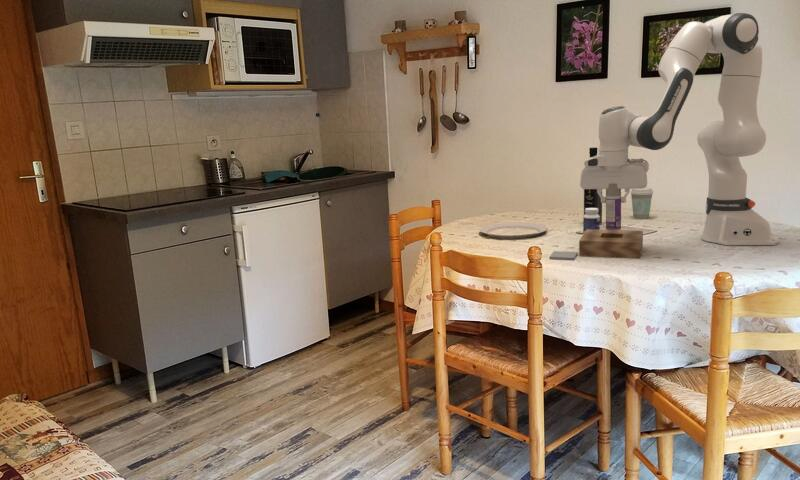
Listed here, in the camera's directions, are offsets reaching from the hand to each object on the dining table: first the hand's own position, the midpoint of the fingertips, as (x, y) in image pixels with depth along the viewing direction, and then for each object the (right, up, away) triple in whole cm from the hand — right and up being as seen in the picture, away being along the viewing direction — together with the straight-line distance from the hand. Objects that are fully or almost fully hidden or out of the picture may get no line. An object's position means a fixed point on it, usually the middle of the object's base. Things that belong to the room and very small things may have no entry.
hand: (613, 202), depth 200 cm
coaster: (-16, -17, -1) cm, 24 cm away
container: (+1, -9, +2) cm, 9 cm away
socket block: (0, -15, +3) cm, 16 cm away
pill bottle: (+1, -11, +26) cm, 28 cm away
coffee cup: (+29, -3, +53) cm, 61 cm away
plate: (-25, -10, +39) cm, 47 cm away
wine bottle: (+8, -6, +46) cm, 47 cm away
